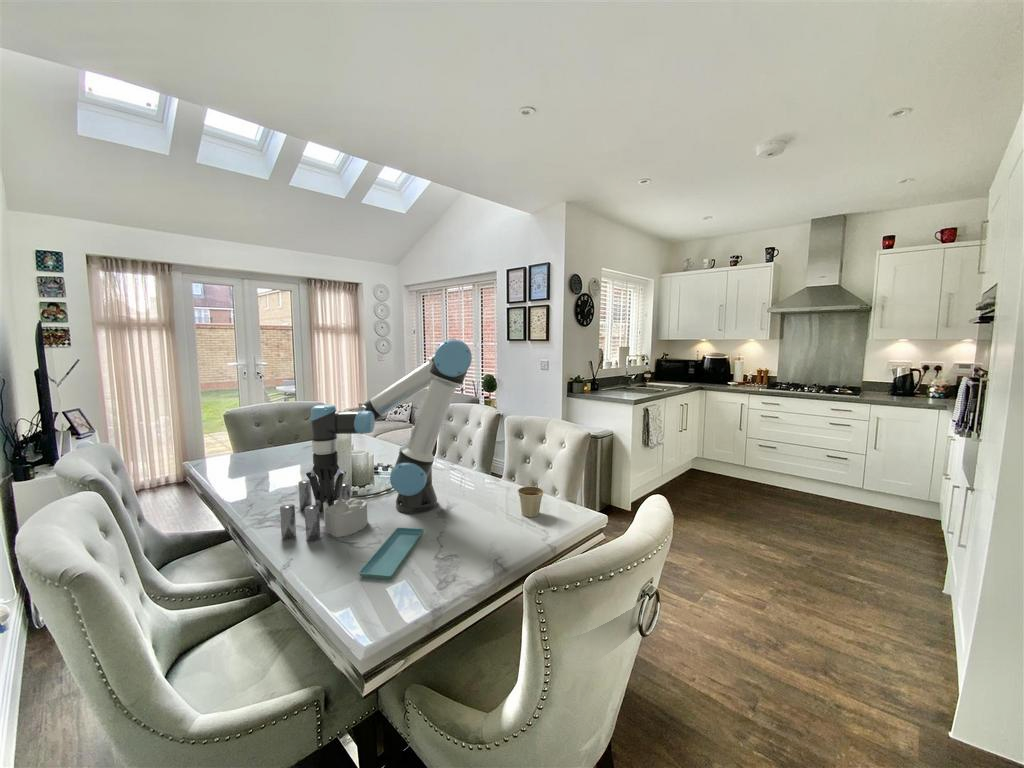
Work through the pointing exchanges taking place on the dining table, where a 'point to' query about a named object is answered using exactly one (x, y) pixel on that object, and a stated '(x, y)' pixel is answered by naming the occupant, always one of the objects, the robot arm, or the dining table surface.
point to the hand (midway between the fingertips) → (328, 519)
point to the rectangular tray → (391, 554)
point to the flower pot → (530, 500)
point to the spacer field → (306, 512)
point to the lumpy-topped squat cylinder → (346, 517)
